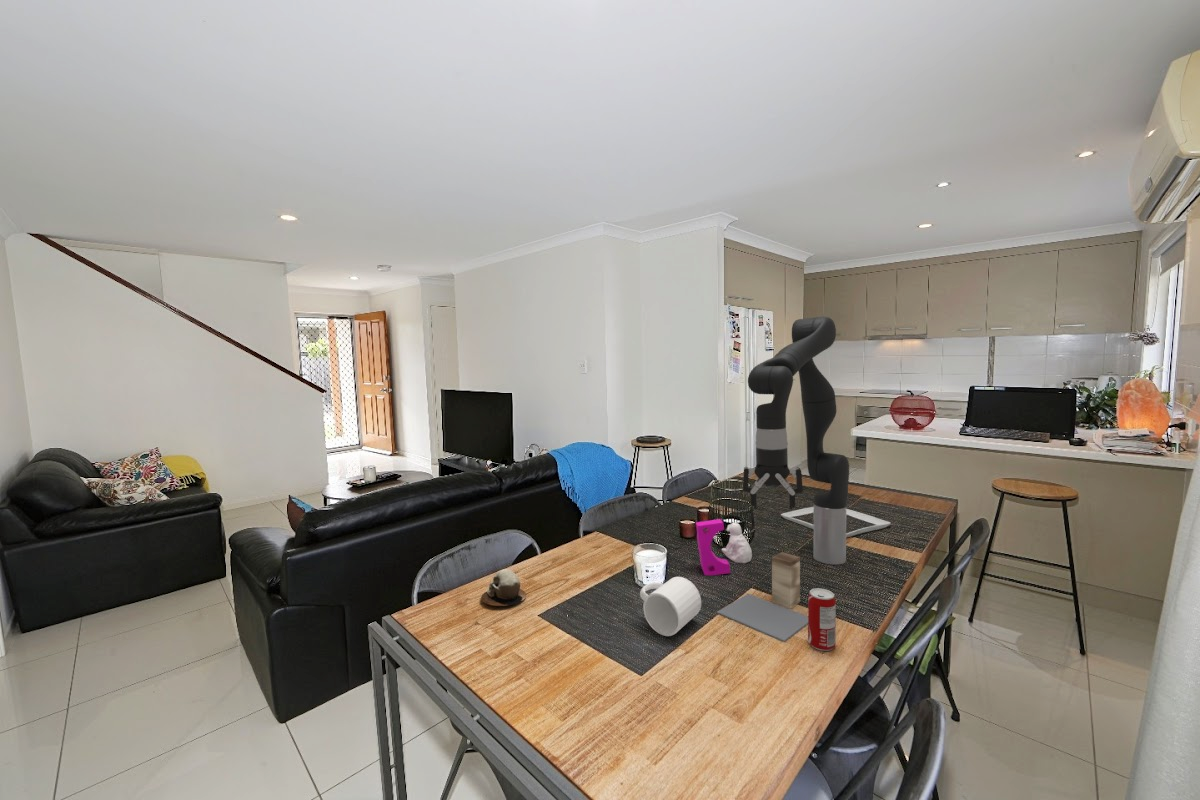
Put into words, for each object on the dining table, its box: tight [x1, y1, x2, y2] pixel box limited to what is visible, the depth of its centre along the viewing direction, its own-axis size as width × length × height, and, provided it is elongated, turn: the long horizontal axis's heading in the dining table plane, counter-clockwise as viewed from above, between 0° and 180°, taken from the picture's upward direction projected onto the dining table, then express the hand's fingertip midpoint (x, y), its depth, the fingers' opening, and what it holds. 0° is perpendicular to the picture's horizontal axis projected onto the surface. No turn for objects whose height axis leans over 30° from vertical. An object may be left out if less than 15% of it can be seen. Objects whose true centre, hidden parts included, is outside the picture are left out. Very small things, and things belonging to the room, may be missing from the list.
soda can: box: [807, 587, 837, 652], centre depth 109 cm, size 6×6×12 cm
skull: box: [480, 568, 527, 607], centre depth 136 cm, size 12×10×10 cm
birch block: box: [771, 551, 801, 610], centre depth 129 cm, size 5×5×12 cm
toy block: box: [695, 518, 731, 576], centre depth 149 cm, size 15×6×8 cm
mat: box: [716, 593, 808, 643], centre depth 122 cm, size 14×18×1 cm
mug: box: [639, 576, 702, 637], centre depth 120 cm, size 13×10×10 cm
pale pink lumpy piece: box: [721, 522, 753, 564], centre depth 156 cm, size 6×8×12 cm
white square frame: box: [780, 506, 891, 538], centre depth 187 cm, size 27×27×4 cm
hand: (772, 508), depth 127 cm, fingers open, 8 cm apart
